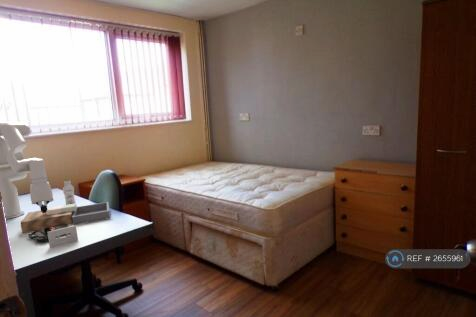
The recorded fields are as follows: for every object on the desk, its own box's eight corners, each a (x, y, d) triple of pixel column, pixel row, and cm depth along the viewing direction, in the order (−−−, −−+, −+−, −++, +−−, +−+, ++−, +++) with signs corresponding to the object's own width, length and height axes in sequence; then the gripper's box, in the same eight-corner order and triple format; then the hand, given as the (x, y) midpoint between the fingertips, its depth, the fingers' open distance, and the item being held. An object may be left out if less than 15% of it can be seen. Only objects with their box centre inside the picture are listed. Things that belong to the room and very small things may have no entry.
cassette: (77, 240, 157) (75, 224, 156) (78, 241, 156) (76, 225, 155) (49, 247, 151) (46, 231, 149) (50, 248, 149) (47, 232, 148)
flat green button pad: (27, 238, 165) (25, 229, 165) (64, 227, 179) (62, 219, 178) (40, 246, 154) (38, 236, 153) (78, 233, 167) (77, 224, 167)
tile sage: (61, 212, 184) (60, 208, 184) (62, 209, 191) (62, 205, 190) (75, 210, 187) (74, 206, 186) (76, 207, 193) (75, 203, 193)
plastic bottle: (66, 213, 204) (61, 182, 201) (66, 210, 210) (61, 180, 207) (77, 211, 207) (72, 180, 204) (77, 208, 213) (72, 178, 210)
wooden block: (22, 233, 172) (20, 222, 172) (30, 222, 191) (28, 212, 190) (72, 224, 181) (70, 214, 180) (75, 214, 200) (74, 205, 199)
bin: (73, 224, 180) (72, 217, 180) (76, 214, 201) (75, 207, 200) (109, 218, 187) (108, 210, 187) (109, 208, 208) (108, 201, 207)
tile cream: (47, 215, 182) (46, 210, 181) (49, 211, 188) (48, 207, 188) (61, 212, 184) (60, 208, 184) (62, 209, 191) (62, 205, 190)
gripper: (22, 184, 175) (27, 216, 178) (53, 180, 181) (58, 212, 183) (25, 181, 182) (30, 213, 185) (55, 178, 187) (60, 208, 190)
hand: (44, 212), depth 184 cm, fingers closed
